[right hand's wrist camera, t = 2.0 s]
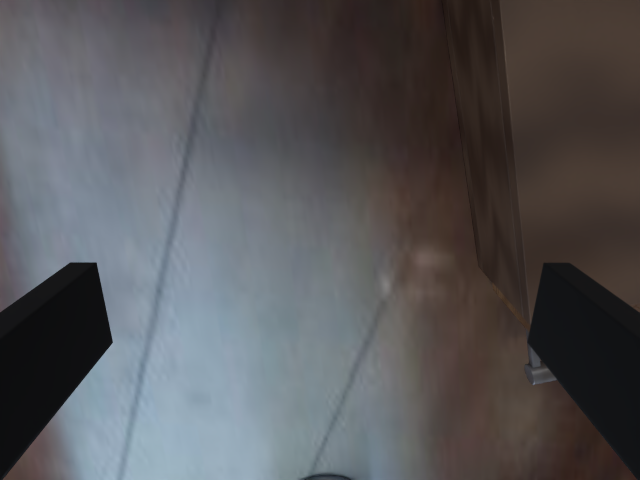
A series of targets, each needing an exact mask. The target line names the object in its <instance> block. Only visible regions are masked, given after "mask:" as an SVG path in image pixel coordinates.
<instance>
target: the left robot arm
mask: <svg viewBox="0 0 640 480" xmlns="http://www.w3.org/2000/svg"><path fill="white" fill-rule="evenodd" d="M305 480H350V479H347V478H344V477H340V476H333V475H321V476H315V477H311V478H308V479H305Z"/></svg>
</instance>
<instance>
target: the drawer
mask: <svg viewBox="0 0 640 480" xmlns="http://www.w3.org/2000/svg"><path fill="white" fill-rule="evenodd" d="M492 283H493V282H492ZM493 290H494V291H495V292H496V294H497V295H498V296H499V297H500V298H501V300H502V301H503V302H504V303H505V304H506V305H507V307H508V308H509V309H510V310H511V311H512V313H513V314H514V315H515V316H516V317H517V319H518V320H519V321H520V322H521V323H522V324H523V326H524V327H525V328H526V335H527V341H528V336H529V331H530V325H529V324H528V323H527V321H526V320H525V319H524V318H523V317H522V316H521V315H520V313H519V312H518V311H517V310H516V309H515V308H514V306H513V305H512V304H511V303H510V302H509V301H508V300H507V298H506V297H505V296H504V295H503V294H502V293H501V292H500V290H499V289H498V288H497V287H496V286H495V285H494V284H493ZM630 306H631V307H633V308H634V309H635V310H637V311H638V312H640V303H637V304H633V305H630ZM527 345H528V355H529V364H525V373H526V376H527V378H528V380H529V382H530V383H531V384H532V385H535V384H540V383H545V382H550V381H555V380H557V379H556V378H555V376H554V375H553V374H552V373H551V371H550V370H549V369H548V368H547V366H546V365H545V364H544V363H543V362H542V361H540V358H539V357H538V355H537V354H536V353H535V352H534V350H533V349H532V348H531V347H530V345H529V344H528V343H527Z"/></svg>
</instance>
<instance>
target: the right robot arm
mask: <svg viewBox="0 0 640 480" xmlns="http://www.w3.org/2000/svg"><path fill="white" fill-rule="evenodd" d="M112 343H113V341H112V336H111V331H110V326H109V322H108V317H107V312H106V307H105V302H104V297H103V292H102V287H101V282H100V277H99V273H98V268H97V263H69V264H68V265H66V266H65V267H63V268H62V269H61V270H59V271H58V272H56V273H55V274H54V275H52V276H51V277H49V278H48V279H47V280H45V281H44V282H42V283H41V284H40V285H38V286H37V287H35V288H34V289H33V290H31V291H30V292H28V293H27V294H26V295H24V296H23V297H21V298H20V299H19V300H17V301H16V302H14V303H13V304H12V305H10V306H9V307H7V308H6V309H5V310H3V311H2V312H0V480H3V478H4V477H5V476H6V475H7V473H8V472H9V471H10V470H11V468H12V467H13V466H14V465H15V464H16V462H17V461H18V460H19V459H20V457H21V456H22V455H23V454H24V452H25V451H26V450H27V449H28V447H29V446H30V445H31V444H32V442H33V441H34V440H35V439H36V437H37V436H38V435H39V434H40V432H41V431H42V430H43V429H44V427H45V426H46V425H47V424H48V422H49V421H50V420H51V419H52V417H53V416H54V415H55V414H56V413H57V411H58V410H59V409H60V408H61V406H62V405H63V404H64V403H65V401H66V400H67V399H68V398H69V396H70V395H71V394H72V393H73V391H74V390H75V389H76V388H77V386H78V385H79V384H80V383H81V381H82V380H83V379H84V378H85V376H86V375H87V374H88V373H89V371H90V370H91V369H92V368H93V366H94V365H95V364H96V363H97V362H98V360H99V359H100V358H101V357H102V355H103V354H104V353H105V352H106V350H107V349H108V348H109V347H110V345H111V344H112ZM527 343H528V344H529V345H530V347H531V348H532V349H533V350H534V352H535V353H536V354H537V355H538V357H539V358H540V359H541V360H542V362H543V363H544V364H545V365H546V366H547V368H548V369H549V370H550V371H551V373H552V374H553V375H554V376H555V378H556V379H557V380H558V381H559V383H560V384H561V385H562V386H563V388H564V389H565V390H566V391H567V393H568V394H569V395H570V396H571V398H572V399H573V400H574V401H575V403H576V404H577V405H578V406H579V408H580V409H581V410H582V411H583V413H584V414H585V415H586V416H587V417H588V419H589V420H590V421H591V422H592V424H593V425H594V426H595V427H596V429H597V430H598V431H599V432H600V434H601V435H602V436H603V437H604V439H605V440H606V441H607V442H608V444H609V445H610V446H611V447H612V449H613V450H614V451H615V452H616V454H617V455H618V456H619V457H620V459H621V460H622V461H623V462H624V464H625V465H626V466H627V467H628V468H629V470H630V471H631V472H632V473H633V475H634V476H635V477H636V478H637V480H640V312H638V311H637V310H635V309H634V308H633V307H631V306H630V305H628V304H627V303H626V302H624V301H623V300H621V299H620V298H619V297H617V296H616V295H614V294H613V293H612V292H610V291H609V290H607V289H606V288H605V287H603V286H602V285H600V284H599V283H598V282H596V281H595V280H593V279H592V278H591V277H589V276H588V275H586V274H585V273H584V272H582V271H581V270H579V269H578V268H577V267H575V266H574V265H572V264H571V263H543V268H542V273H541V277H540V282H539V287H538V292H537V297H536V302H535V307H534V312H533V317H532V322H531V326H530V331H529V336H528V341H527Z"/></svg>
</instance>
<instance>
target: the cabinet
mask: <svg viewBox="0 0 640 480" xmlns="http://www.w3.org/2000/svg"><path fill="white" fill-rule="evenodd" d="M442 5H443V12H444V19H445V26H446V34H447V41H448V48H449V55H450V63H451V70H452V77H453V84H454V91H455V99H456V106H457V113H458V120H459V128H460V135H461V142H462V149H463V157H464V164H465V171H466V178H467V185H468V193H469V200H470V207H471V214H472V222H473V229H474V236H475V243H476V251H477V258H478V265H479V268H480V269H481V270H482V271H483V272H484V273H485V274H486V276H487V277H488V278H489V279H490V280H491V281H492V282H493V284H494V285H495V286H496V287H497V288H498V289H499V290H500V292H501V293H502V294H503V295H504V296H505V297H506V298H507V300H508V301H509V302H510V303H511V304H512V305H513V306H514V308H515V309H516V310H517V311H518V312H519V313H520V315H521V316H522V317H523V318H524V319H525V320H526V321H527V323H528V324H529V325H530V326H531V322H532V317H533V312H534V307H535V302H536V297H537V292H538V287H539V282H540V277H541V273H542V268H543V263H571V264H572V265H574V266H575V267H577V268H578V269H579V270H581V271H582V272H584V273H585V274H586V275H588V276H589V277H591V278H592V279H593V280H595V281H596V282H598V283H599V284H600V285H602V286H603V287H605V288H606V289H607V290H609V291H610V292H612V293H613V294H614V295H616V296H617V297H619V298H620V299H621V300H623V301H624V302H626V303H627V304H628V305H633V304H637V303H640V0H442Z"/></svg>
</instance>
